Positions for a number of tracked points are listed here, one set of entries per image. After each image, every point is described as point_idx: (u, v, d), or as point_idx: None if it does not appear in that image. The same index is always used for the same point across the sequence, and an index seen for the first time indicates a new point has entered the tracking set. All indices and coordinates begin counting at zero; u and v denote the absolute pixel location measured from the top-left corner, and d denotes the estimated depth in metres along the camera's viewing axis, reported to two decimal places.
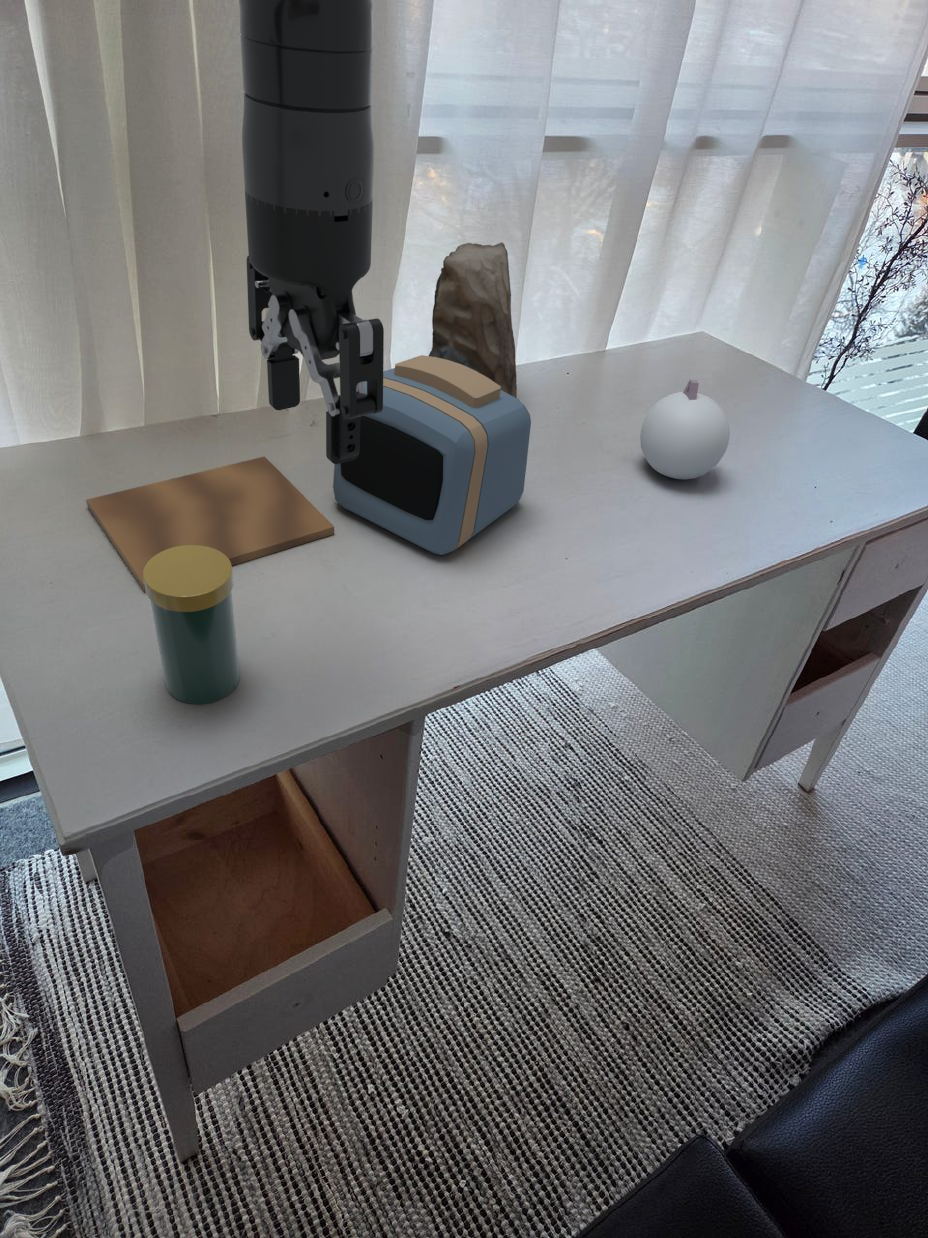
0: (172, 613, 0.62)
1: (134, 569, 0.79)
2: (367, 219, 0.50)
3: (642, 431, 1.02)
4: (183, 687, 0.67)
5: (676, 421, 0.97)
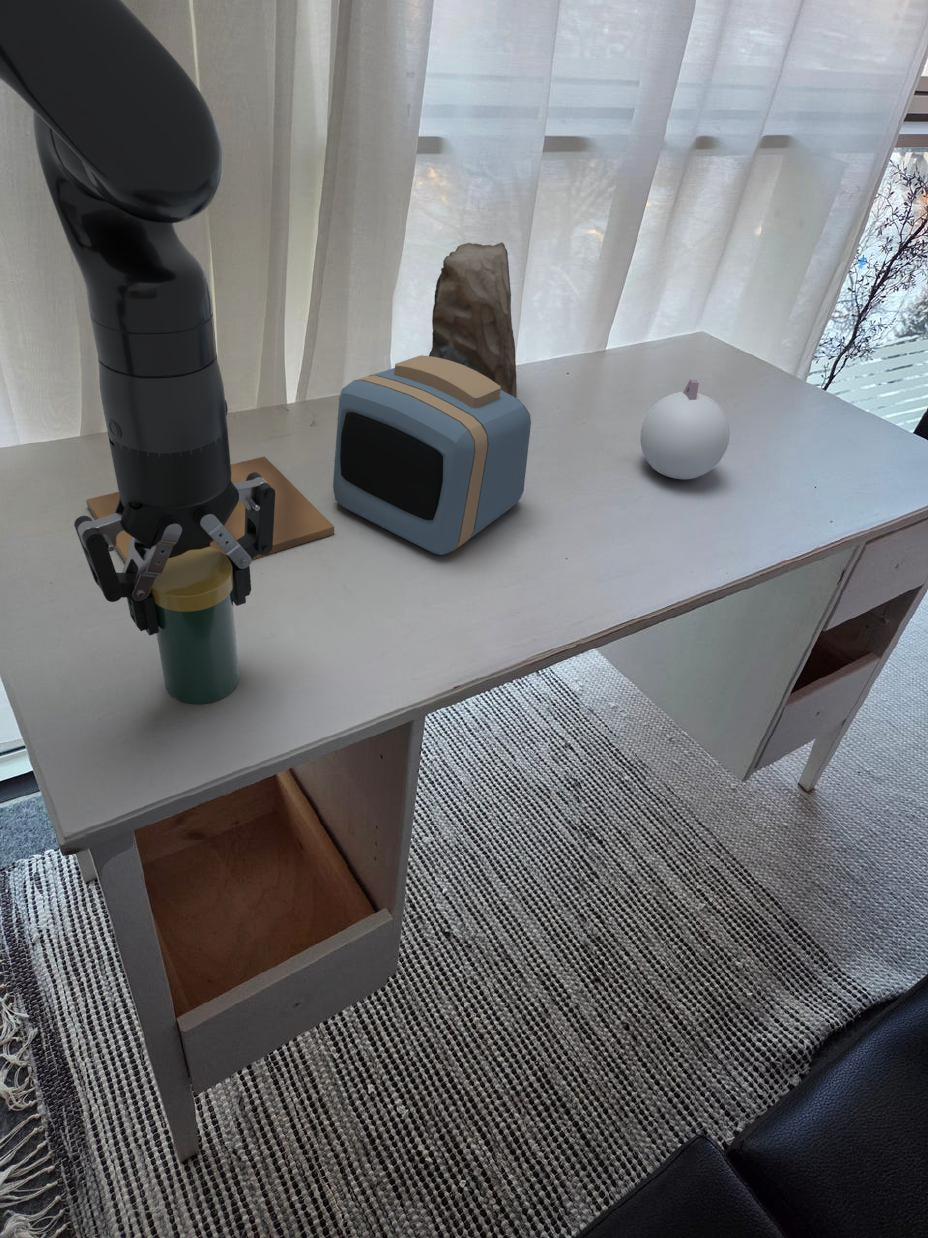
0: (172, 613, 0.62)
1: None
2: (136, 461, 0.53)
3: (642, 431, 1.02)
4: (183, 687, 0.67)
5: (676, 421, 0.97)
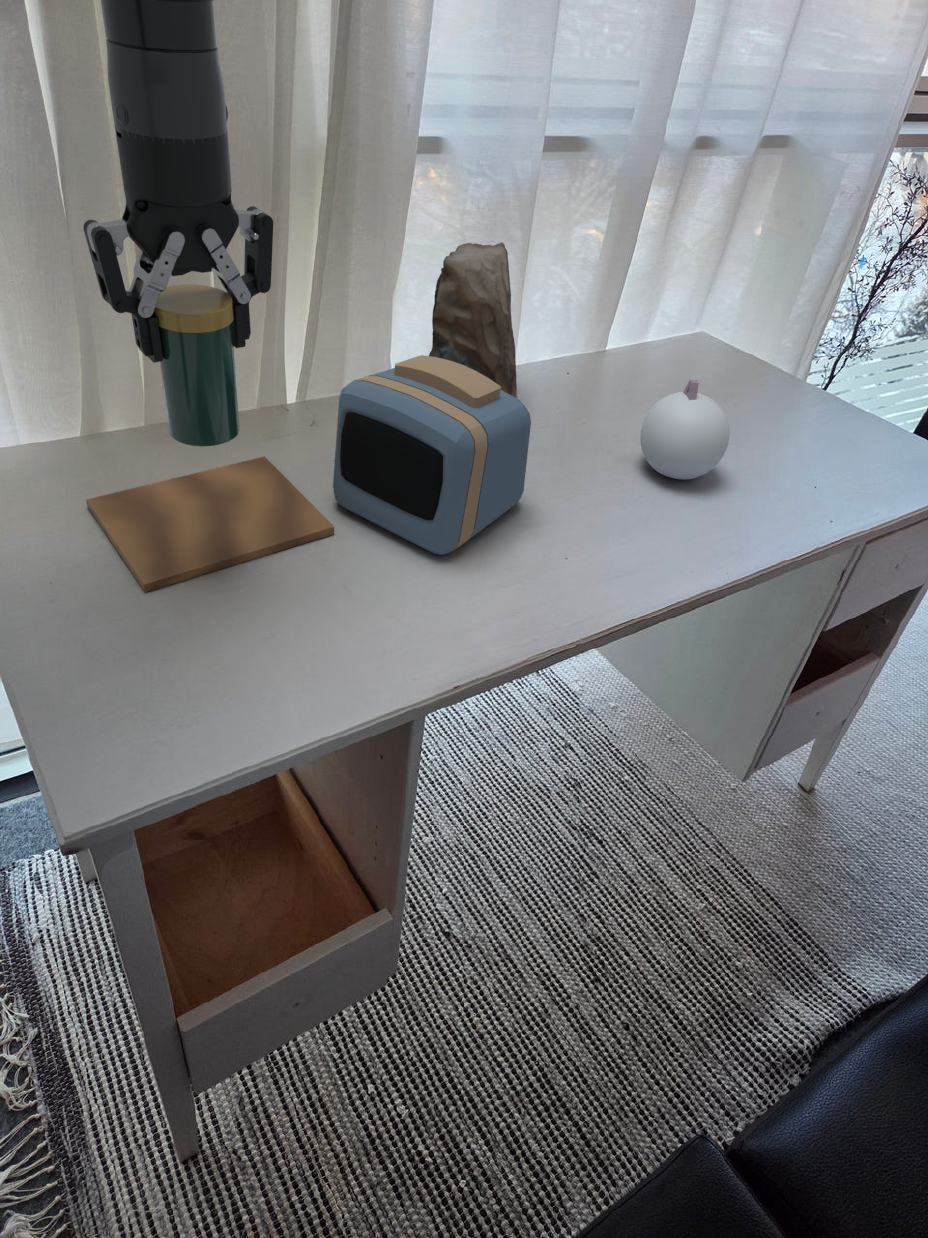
0: (175, 335, 0.65)
1: (134, 569, 0.79)
2: (142, 149, 0.56)
3: (642, 431, 1.02)
4: (186, 425, 0.70)
5: (676, 421, 0.97)
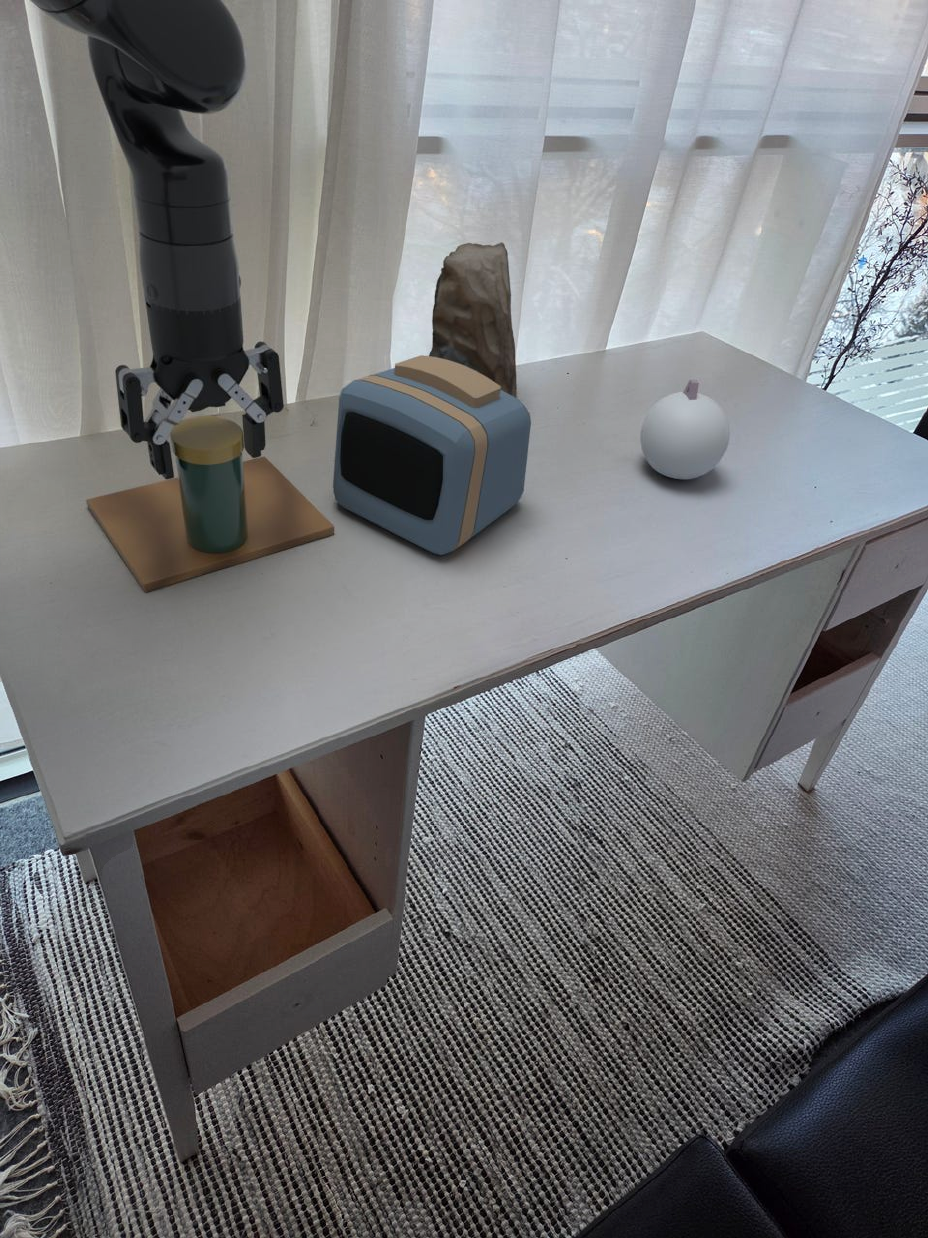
0: (193, 466, 0.75)
1: (134, 569, 0.79)
2: (168, 319, 0.66)
3: (642, 431, 1.02)
4: (202, 537, 0.80)
5: (676, 421, 0.97)
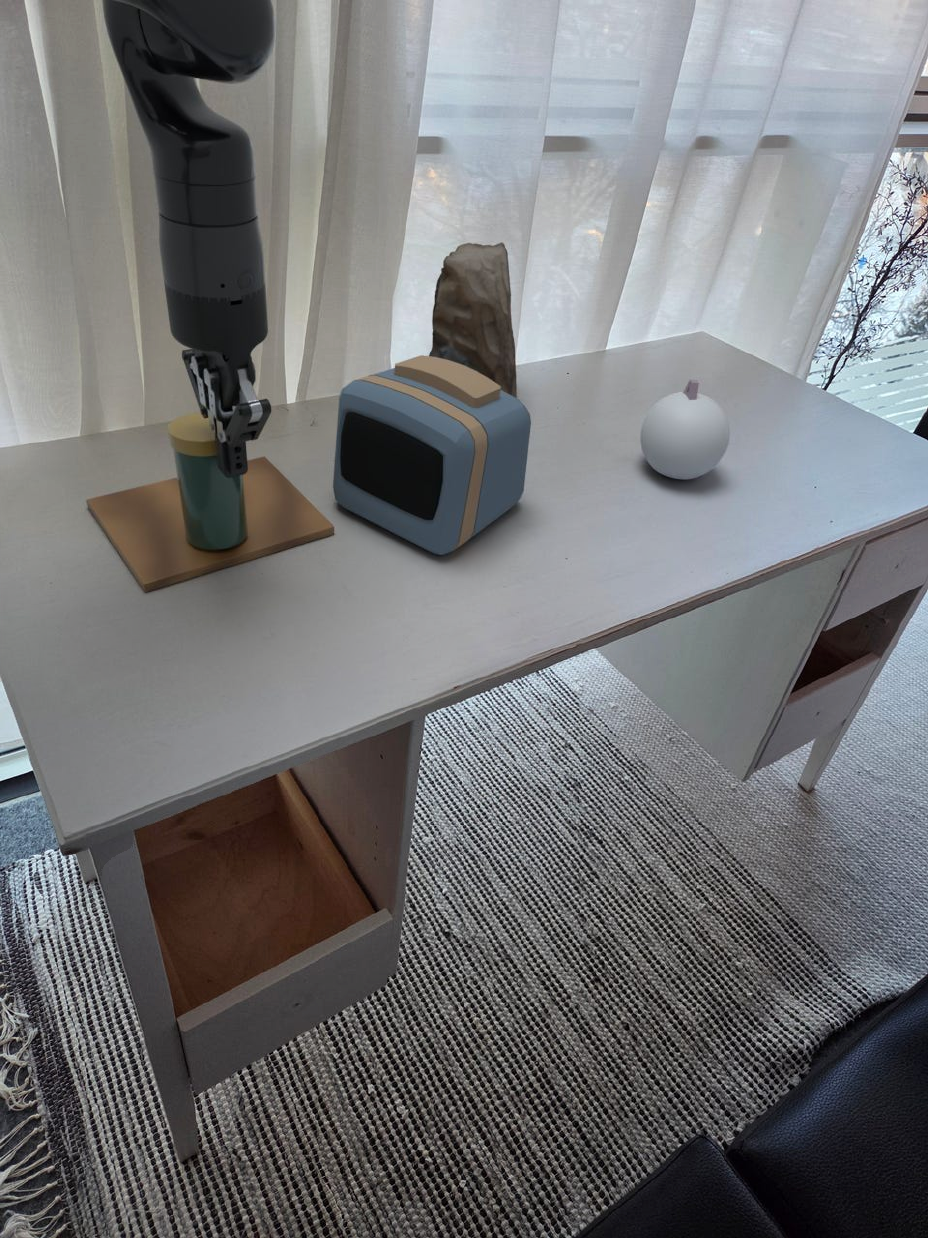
0: (191, 458, 0.76)
1: (134, 569, 0.79)
2: (259, 300, 0.64)
3: (642, 431, 1.02)
4: (201, 533, 0.80)
5: (676, 421, 0.97)
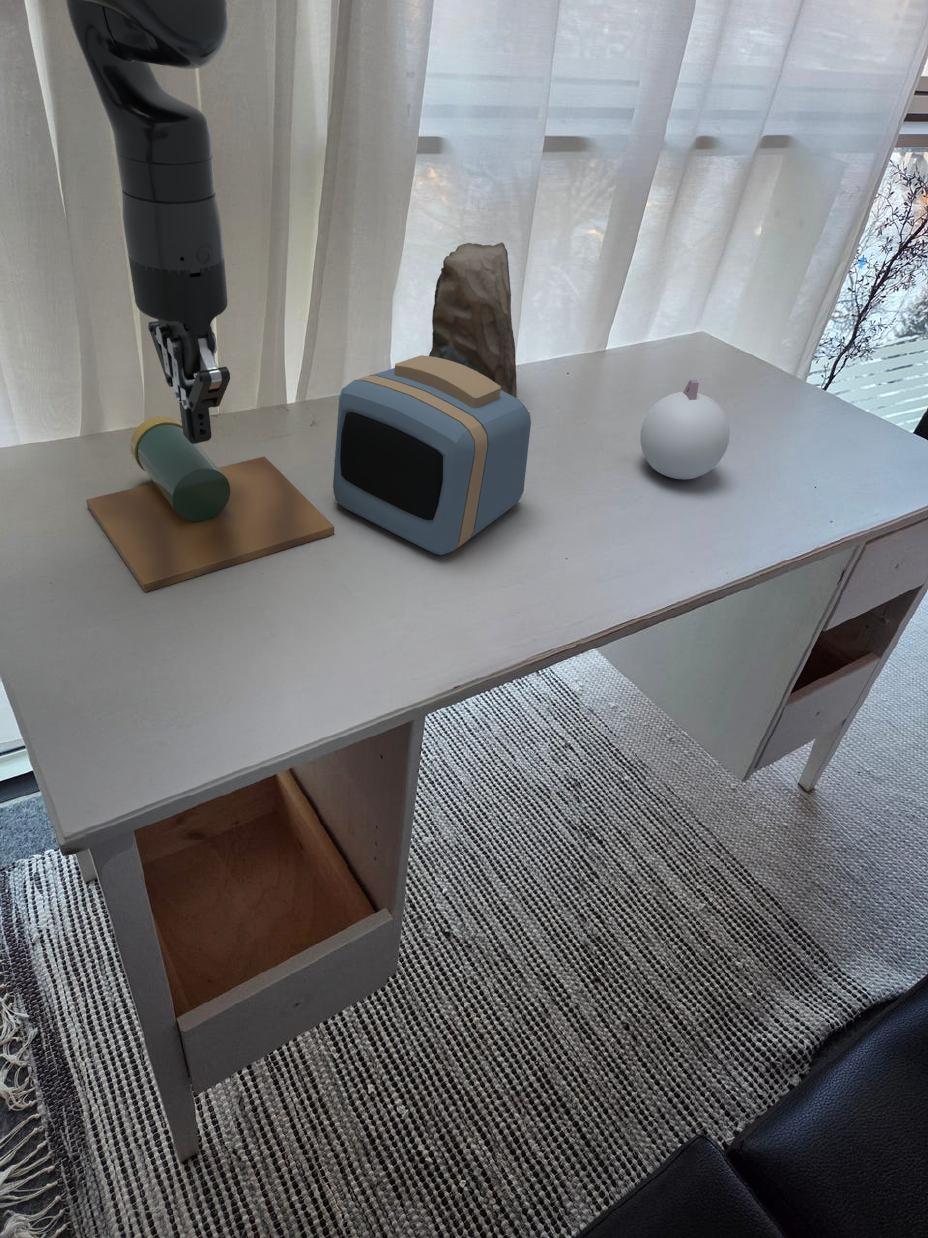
0: (142, 439, 0.87)
1: (134, 569, 0.79)
2: (218, 273, 0.69)
3: (642, 431, 1.02)
4: (170, 475, 0.82)
5: (676, 421, 0.97)
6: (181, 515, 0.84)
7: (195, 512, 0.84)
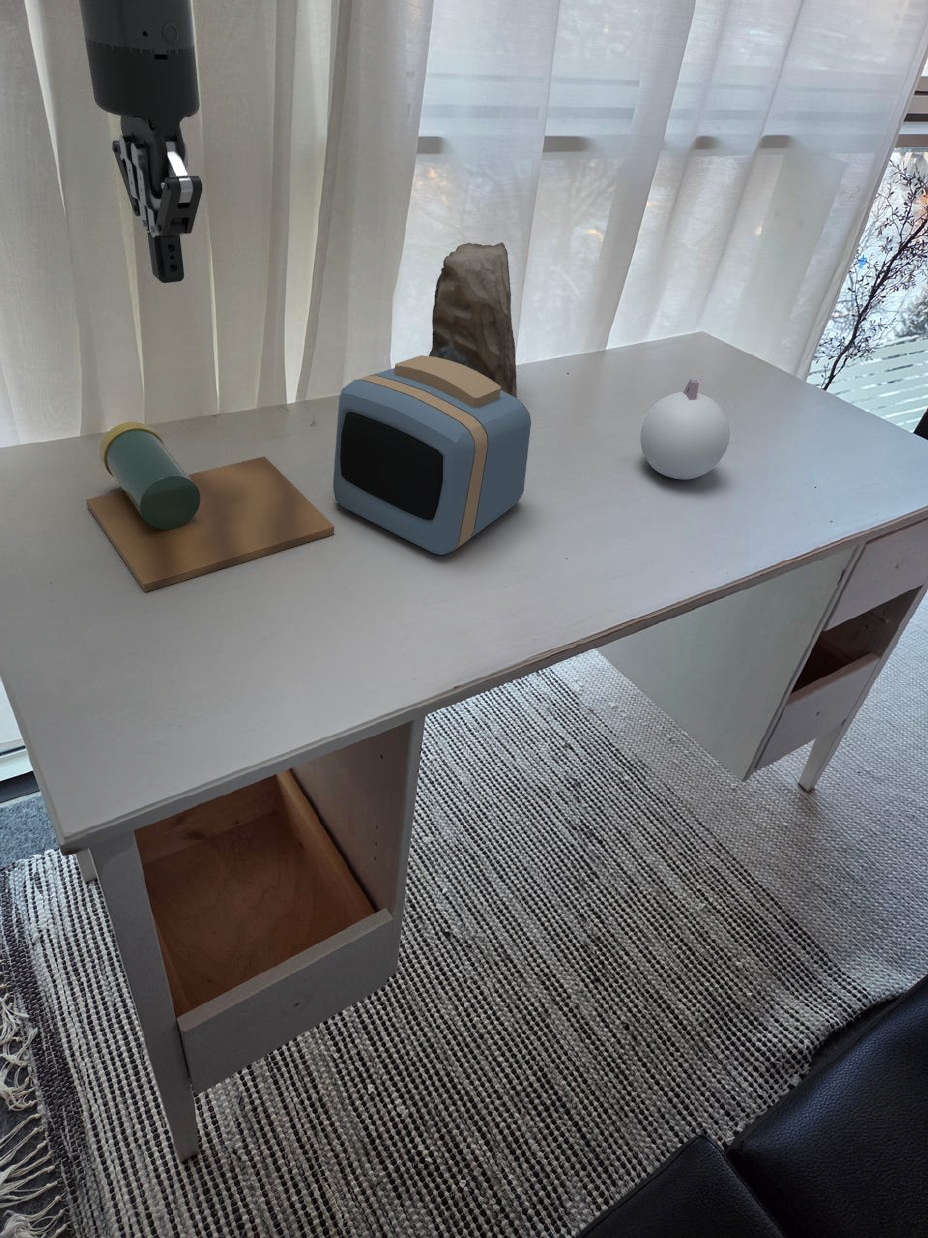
0: (110, 471, 0.87)
1: (134, 569, 0.79)
2: (188, 62, 0.61)
3: (642, 431, 1.02)
4: (137, 509, 0.82)
5: (676, 421, 0.97)
6: (177, 526, 0.84)
7: (183, 514, 0.84)
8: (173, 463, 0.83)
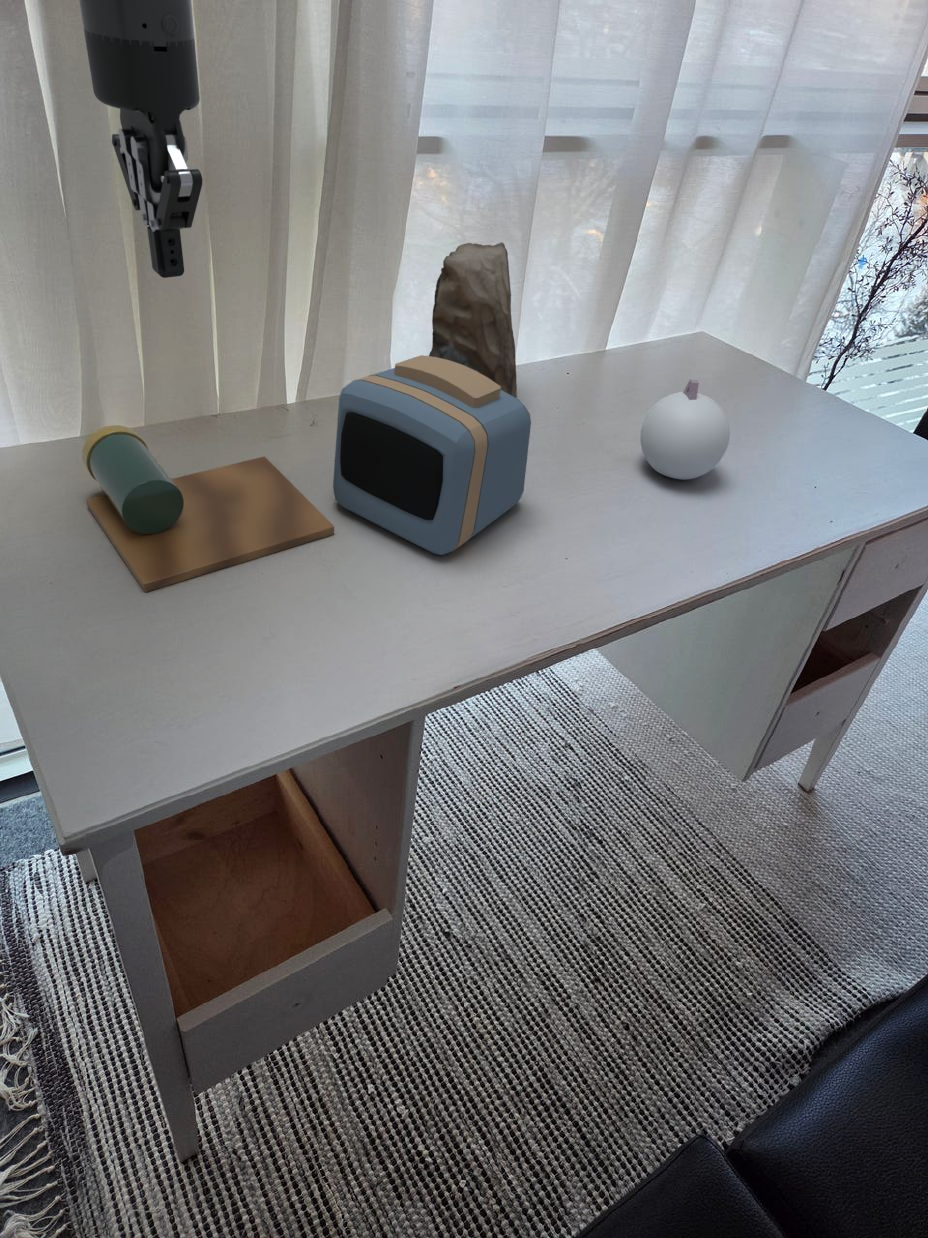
0: None
1: (134, 569, 0.79)
2: (187, 54, 0.60)
3: (642, 431, 1.02)
4: None
5: (676, 421, 0.97)
6: (174, 521, 0.83)
7: (172, 509, 0.83)
8: (139, 466, 0.81)
